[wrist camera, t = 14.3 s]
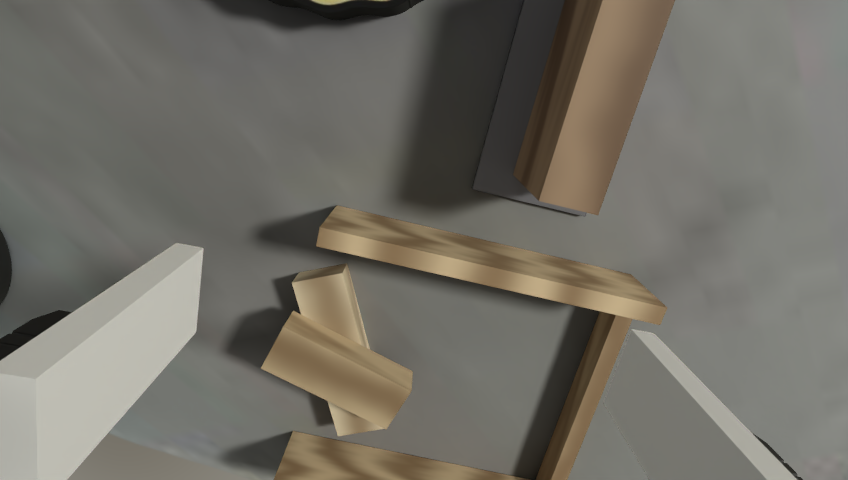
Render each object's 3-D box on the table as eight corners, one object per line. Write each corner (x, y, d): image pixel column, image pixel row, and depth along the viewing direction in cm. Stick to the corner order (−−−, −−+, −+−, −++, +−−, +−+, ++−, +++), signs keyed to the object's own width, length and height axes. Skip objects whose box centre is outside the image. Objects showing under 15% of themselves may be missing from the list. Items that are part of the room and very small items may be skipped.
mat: (472, 188, 42) (472, 189, 41) (543, -72, 36) (545, -75, 36) (583, 214, 43) (585, 216, 42) (670, -37, 37) (674, -39, 36)
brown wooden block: (512, 174, 41) (538, 201, 31) (574, -34, 36) (627, -78, 27) (558, 185, 41) (597, 215, 32) (625, -20, 37) (695, -58, 27)
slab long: (343, 416, 50) (338, 436, 47) (300, 270, 45) (291, 282, 42) (386, 408, 49) (384, 428, 46) (347, 261, 45) (342, 273, 42)
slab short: (388, 408, 46) (386, 429, 43) (271, 349, 44) (260, 368, 41) (412, 371, 44) (411, 391, 42) (293, 310, 43) (283, 326, 40)
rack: (290, 443, 50) (269, 498, 43) (336, 205, 43) (319, 227, 36) (544, 494, 52) (561, 555, 45) (631, 274, 44) (667, 307, 38)
